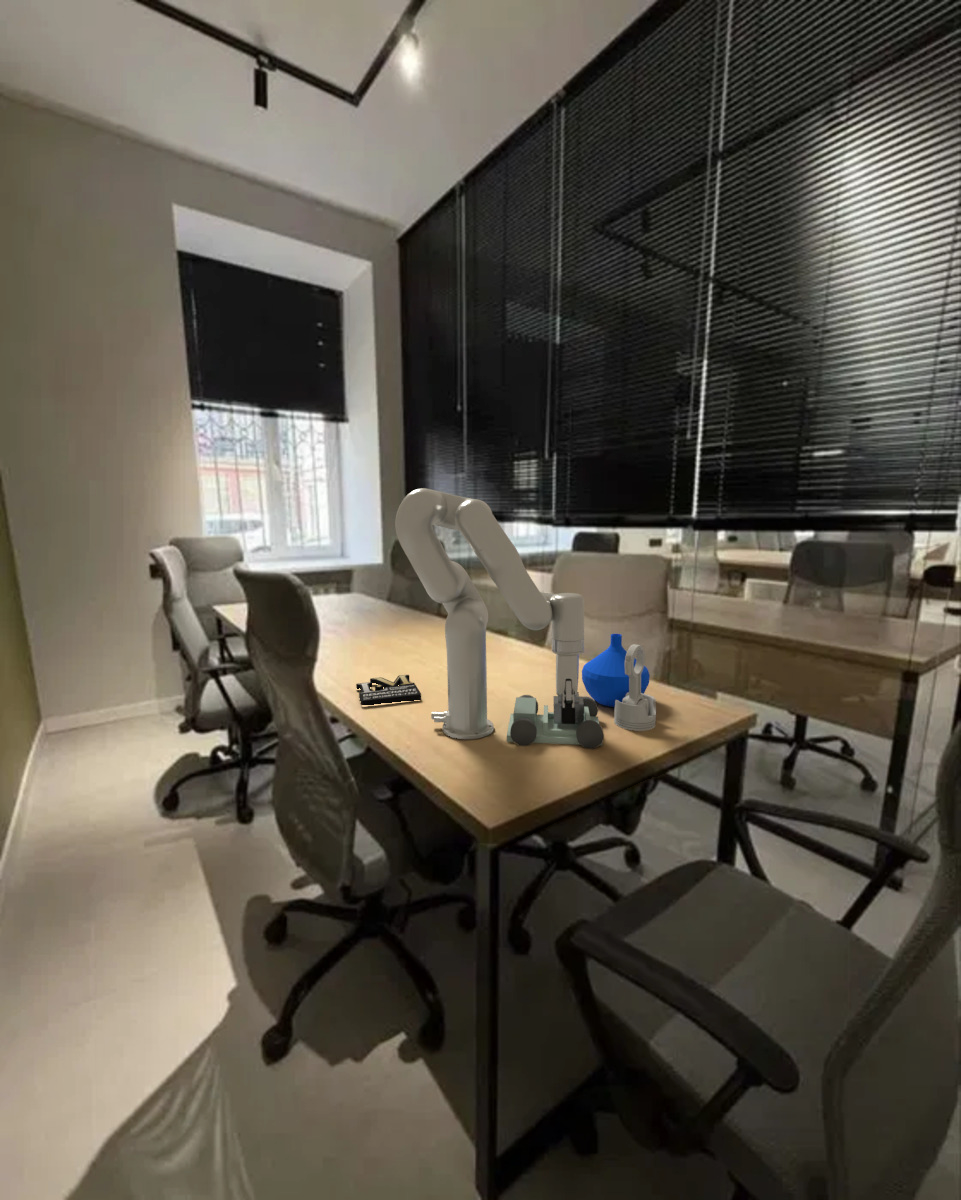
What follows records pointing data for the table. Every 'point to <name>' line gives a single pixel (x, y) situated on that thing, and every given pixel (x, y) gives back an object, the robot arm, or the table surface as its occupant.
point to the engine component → (635, 696)
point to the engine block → (577, 704)
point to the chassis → (552, 725)
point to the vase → (610, 674)
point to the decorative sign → (388, 691)
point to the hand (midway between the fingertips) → (567, 717)
